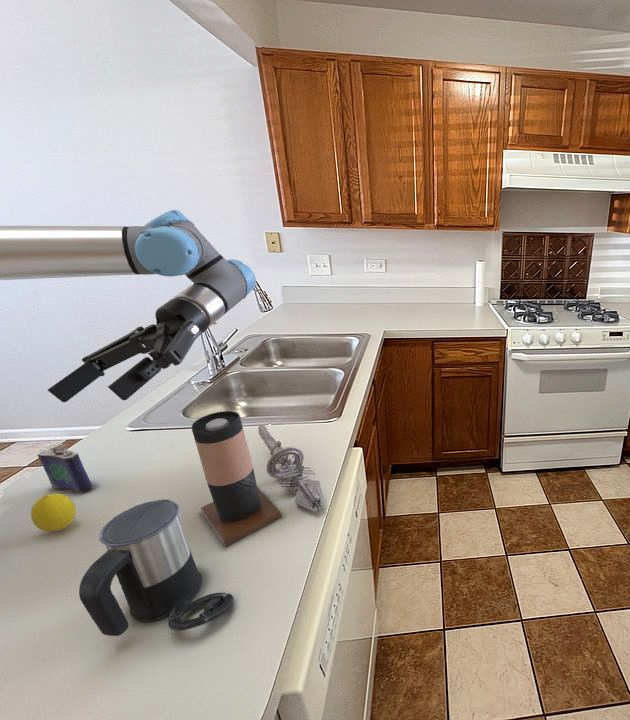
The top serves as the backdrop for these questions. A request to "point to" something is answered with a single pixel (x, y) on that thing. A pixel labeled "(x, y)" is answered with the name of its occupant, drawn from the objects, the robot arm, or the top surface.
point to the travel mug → (227, 465)
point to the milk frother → (147, 572)
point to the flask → (65, 470)
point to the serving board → (241, 521)
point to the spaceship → (292, 472)
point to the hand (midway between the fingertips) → (85, 395)
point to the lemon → (53, 512)
